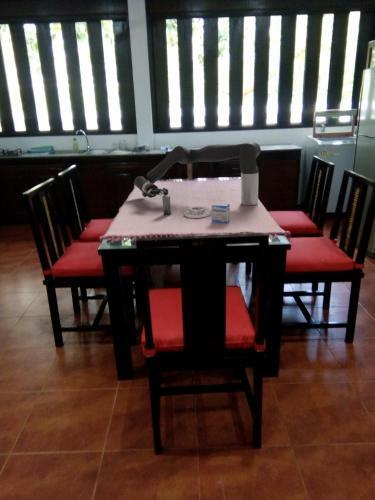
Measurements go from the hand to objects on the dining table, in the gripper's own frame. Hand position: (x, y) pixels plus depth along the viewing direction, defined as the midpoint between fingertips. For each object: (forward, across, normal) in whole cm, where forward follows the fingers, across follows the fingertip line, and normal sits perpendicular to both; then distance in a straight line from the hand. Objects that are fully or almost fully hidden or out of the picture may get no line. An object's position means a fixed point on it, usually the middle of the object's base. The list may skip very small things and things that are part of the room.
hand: (159, 195), depth 215 cm
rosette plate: (+20, +14, +8) cm, 26 cm away
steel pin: (+12, 0, +8) cm, 14 cm away
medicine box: (+38, +18, +8) cm, 43 cm away
